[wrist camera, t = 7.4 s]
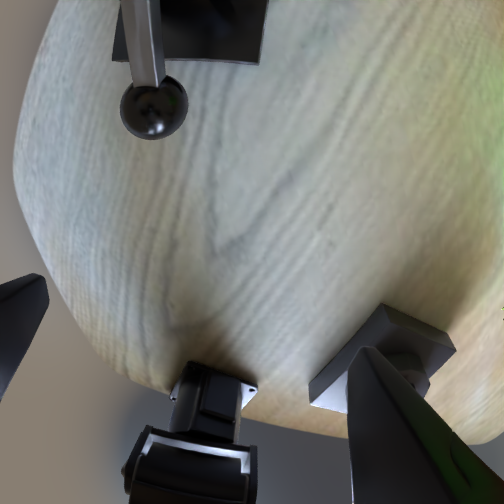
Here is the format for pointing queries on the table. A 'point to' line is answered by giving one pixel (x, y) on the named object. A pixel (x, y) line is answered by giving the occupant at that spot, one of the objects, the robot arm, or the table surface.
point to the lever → (149, 76)
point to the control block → (385, 355)
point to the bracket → (206, 31)
